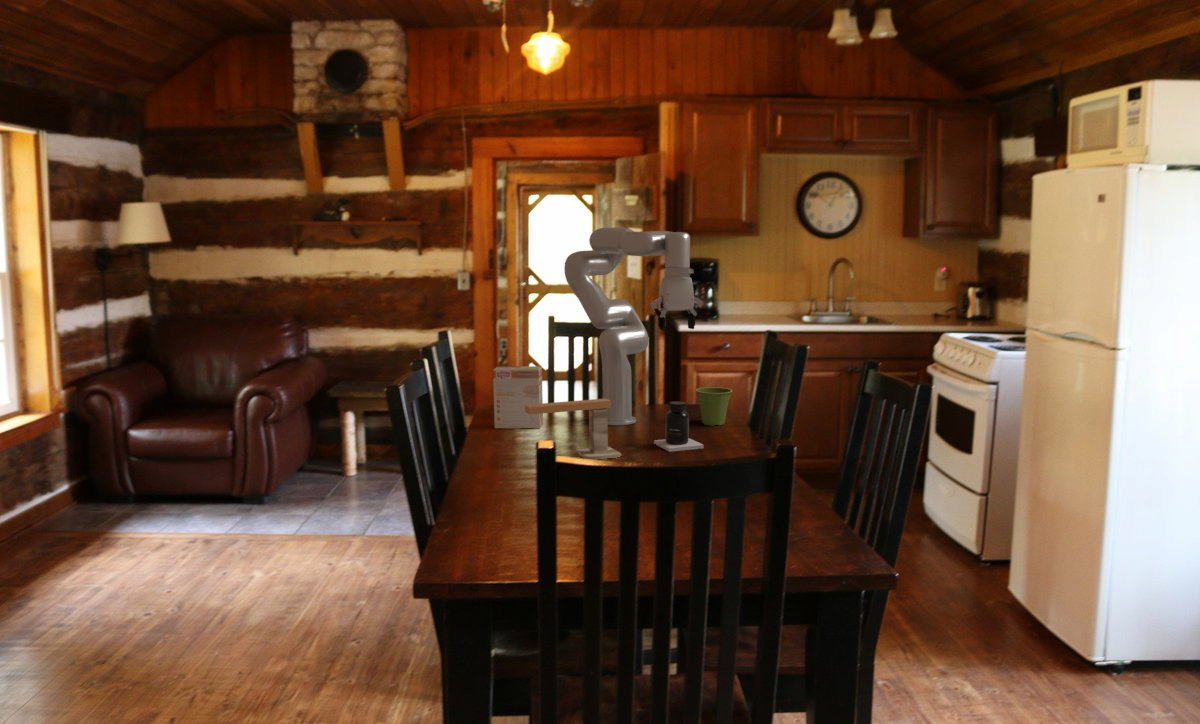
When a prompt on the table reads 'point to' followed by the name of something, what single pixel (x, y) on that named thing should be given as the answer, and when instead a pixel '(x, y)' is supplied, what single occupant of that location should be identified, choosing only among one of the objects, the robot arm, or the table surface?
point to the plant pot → (713, 404)
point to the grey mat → (671, 447)
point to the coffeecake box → (517, 396)
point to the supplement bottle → (677, 424)
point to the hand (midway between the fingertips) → (676, 329)
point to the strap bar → (567, 406)
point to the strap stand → (598, 437)
